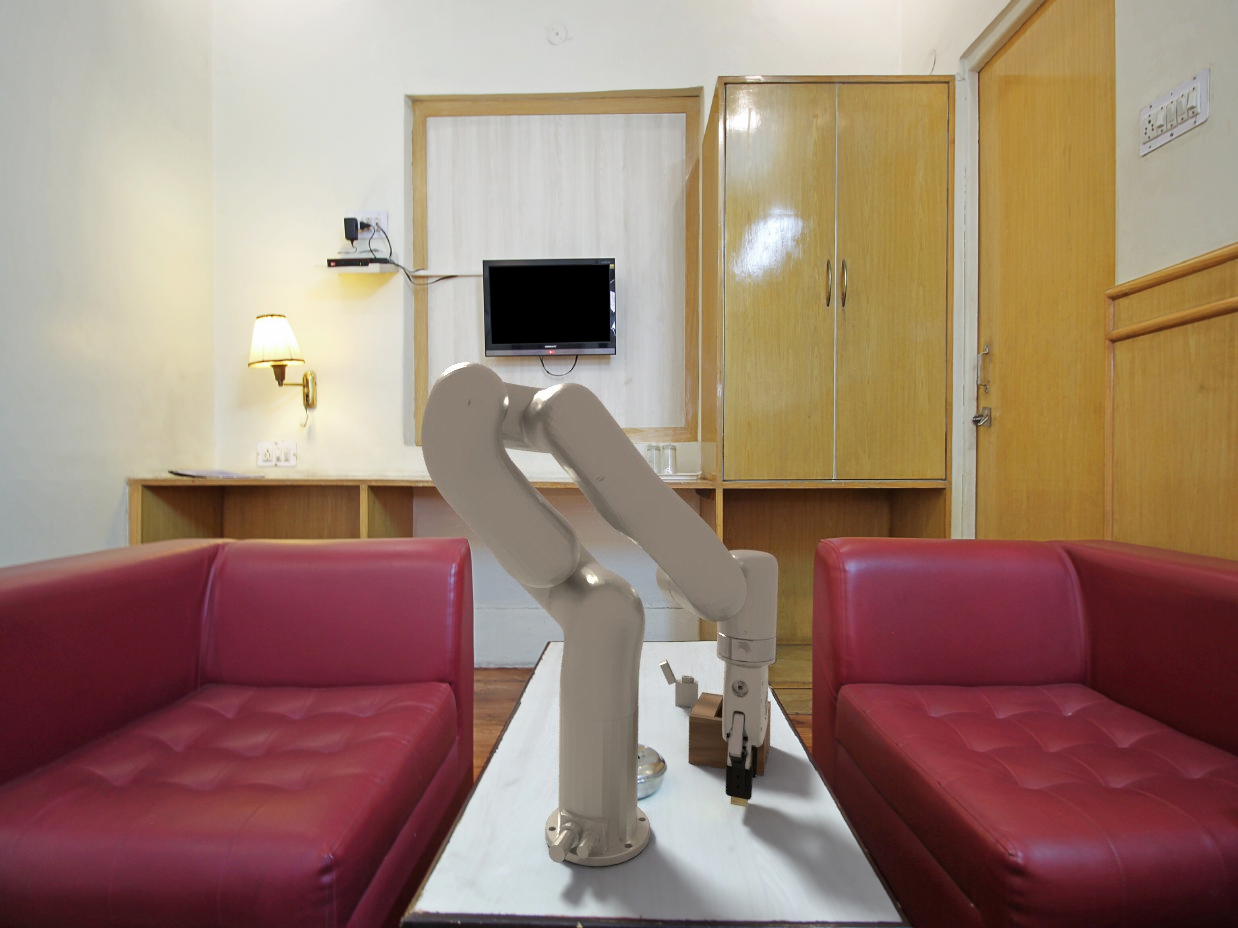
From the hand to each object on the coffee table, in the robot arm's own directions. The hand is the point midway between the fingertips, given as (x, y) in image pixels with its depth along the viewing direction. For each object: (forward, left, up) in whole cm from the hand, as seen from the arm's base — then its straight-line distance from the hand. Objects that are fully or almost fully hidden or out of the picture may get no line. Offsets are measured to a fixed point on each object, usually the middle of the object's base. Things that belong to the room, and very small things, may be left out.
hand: (741, 784), depth 81 cm
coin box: (+14, +4, -3) cm, 15 cm away
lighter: (+30, +16, -3) cm, 34 cm away
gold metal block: (0, 0, -1) cm, 1 cm away
